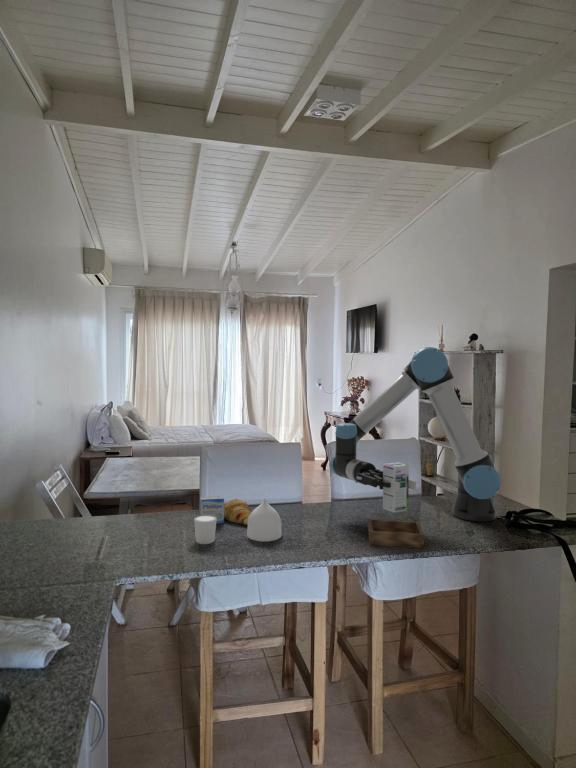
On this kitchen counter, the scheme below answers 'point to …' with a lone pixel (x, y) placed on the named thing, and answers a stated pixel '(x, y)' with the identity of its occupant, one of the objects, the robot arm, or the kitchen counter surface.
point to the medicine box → (213, 507)
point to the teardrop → (264, 523)
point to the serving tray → (395, 533)
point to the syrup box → (400, 499)
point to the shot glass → (205, 529)
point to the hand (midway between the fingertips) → (407, 486)
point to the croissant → (237, 511)
